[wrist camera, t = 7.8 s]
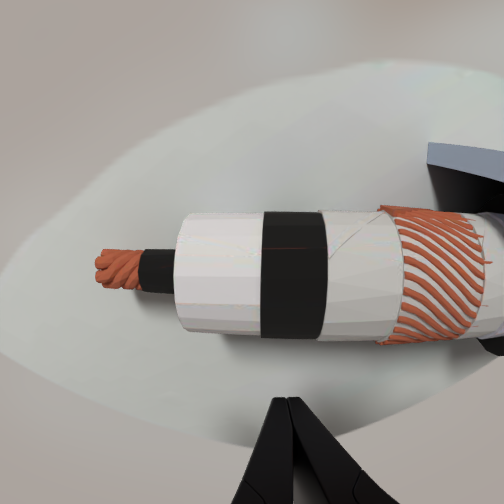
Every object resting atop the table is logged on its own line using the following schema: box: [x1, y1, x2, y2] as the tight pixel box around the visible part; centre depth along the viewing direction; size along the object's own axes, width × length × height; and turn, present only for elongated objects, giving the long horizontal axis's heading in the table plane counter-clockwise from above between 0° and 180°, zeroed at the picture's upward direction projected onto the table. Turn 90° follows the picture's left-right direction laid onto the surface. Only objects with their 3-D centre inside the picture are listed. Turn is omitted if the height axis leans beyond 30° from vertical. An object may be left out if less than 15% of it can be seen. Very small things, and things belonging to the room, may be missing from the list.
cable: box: [95, 194, 504, 356], centre depth 15 cm, size 10×34×10 cm, turn 90°
